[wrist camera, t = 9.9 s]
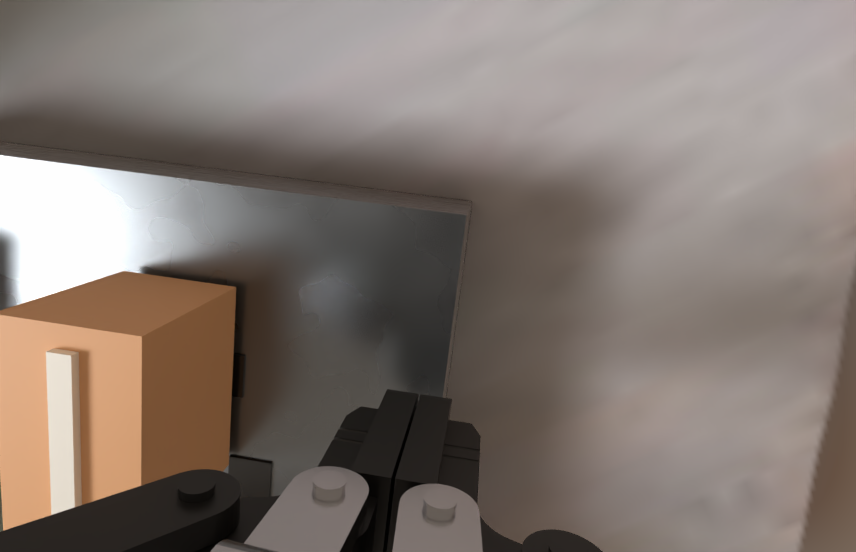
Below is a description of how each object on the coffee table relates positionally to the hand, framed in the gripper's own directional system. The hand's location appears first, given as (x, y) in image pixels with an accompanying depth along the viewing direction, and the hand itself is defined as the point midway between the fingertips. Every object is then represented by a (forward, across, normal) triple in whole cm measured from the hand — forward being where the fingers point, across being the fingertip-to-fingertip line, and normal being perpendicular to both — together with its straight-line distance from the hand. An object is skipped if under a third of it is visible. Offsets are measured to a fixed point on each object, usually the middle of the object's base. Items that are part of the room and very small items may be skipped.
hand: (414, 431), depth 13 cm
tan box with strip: (+2, +6, 0) cm, 7 cm away
